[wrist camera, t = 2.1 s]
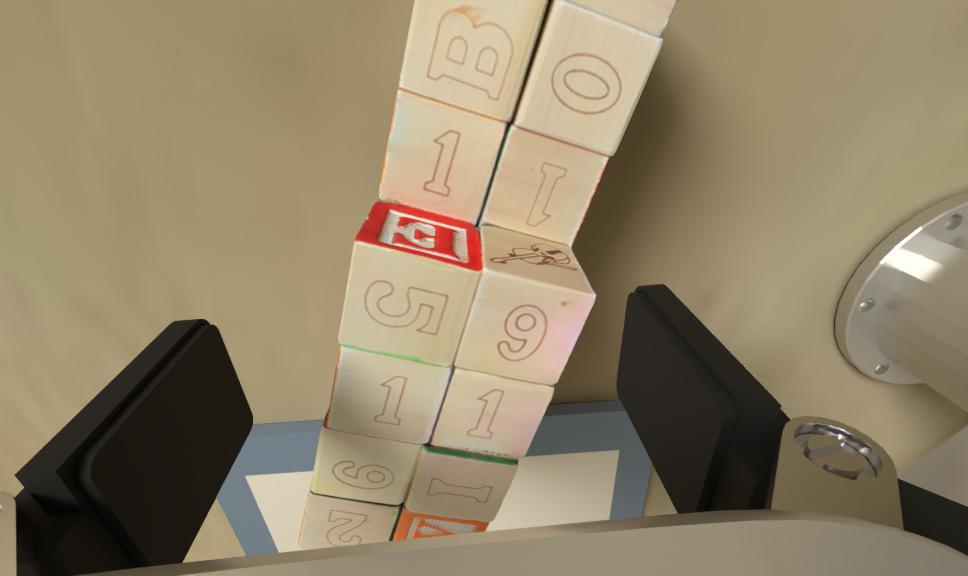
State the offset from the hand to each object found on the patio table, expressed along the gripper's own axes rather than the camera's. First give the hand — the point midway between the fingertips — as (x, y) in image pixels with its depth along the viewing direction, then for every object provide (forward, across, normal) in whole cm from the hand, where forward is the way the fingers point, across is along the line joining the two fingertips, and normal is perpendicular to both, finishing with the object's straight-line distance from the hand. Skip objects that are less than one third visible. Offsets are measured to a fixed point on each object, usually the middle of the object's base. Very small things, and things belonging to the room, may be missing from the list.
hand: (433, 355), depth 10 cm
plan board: (+13, +2, +22) cm, 26 cm away
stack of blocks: (+13, -1, 0) cm, 13 cm away
